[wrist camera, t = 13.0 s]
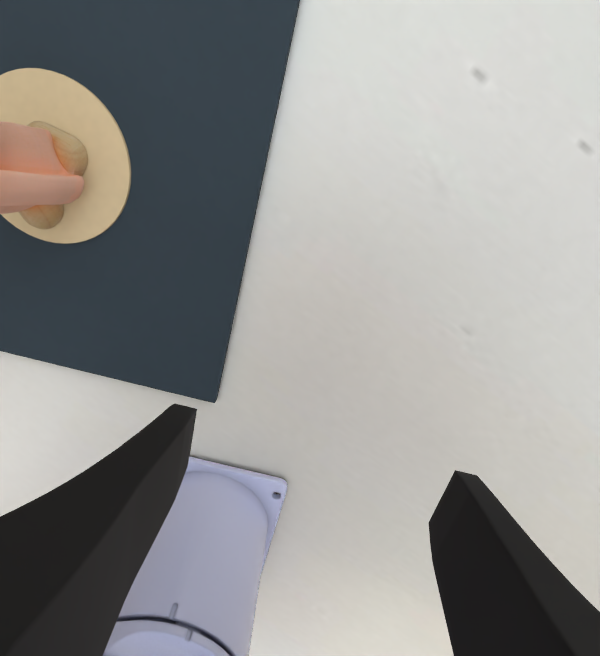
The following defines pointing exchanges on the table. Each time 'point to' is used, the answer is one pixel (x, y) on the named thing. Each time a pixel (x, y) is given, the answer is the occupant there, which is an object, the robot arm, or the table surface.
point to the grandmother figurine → (39, 171)
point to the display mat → (141, 180)
